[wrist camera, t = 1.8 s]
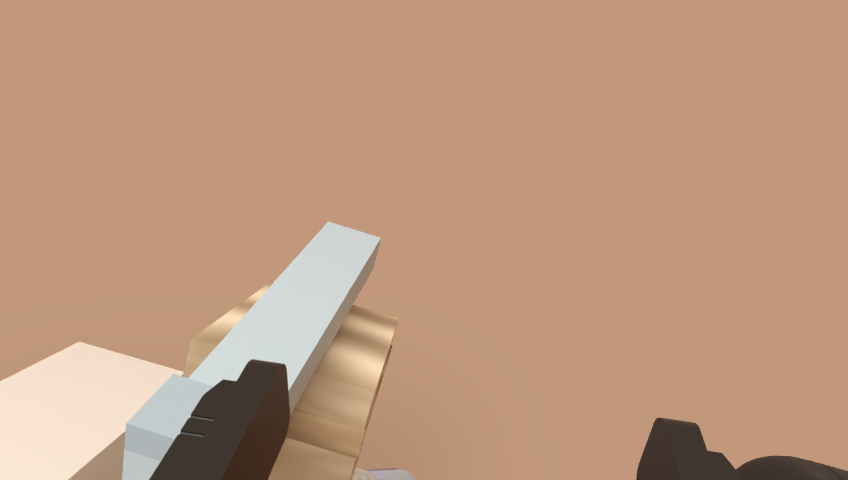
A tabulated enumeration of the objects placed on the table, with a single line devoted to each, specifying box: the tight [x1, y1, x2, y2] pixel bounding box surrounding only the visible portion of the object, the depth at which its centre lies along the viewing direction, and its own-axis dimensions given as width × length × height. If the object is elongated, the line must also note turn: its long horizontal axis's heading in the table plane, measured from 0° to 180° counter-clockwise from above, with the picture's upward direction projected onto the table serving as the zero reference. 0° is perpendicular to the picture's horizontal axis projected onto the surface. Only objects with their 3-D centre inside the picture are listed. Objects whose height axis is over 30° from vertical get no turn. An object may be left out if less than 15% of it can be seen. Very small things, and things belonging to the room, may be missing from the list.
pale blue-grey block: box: [122, 222, 381, 480], centre depth 32 cm, size 24×4×4 cm, turn 175°
